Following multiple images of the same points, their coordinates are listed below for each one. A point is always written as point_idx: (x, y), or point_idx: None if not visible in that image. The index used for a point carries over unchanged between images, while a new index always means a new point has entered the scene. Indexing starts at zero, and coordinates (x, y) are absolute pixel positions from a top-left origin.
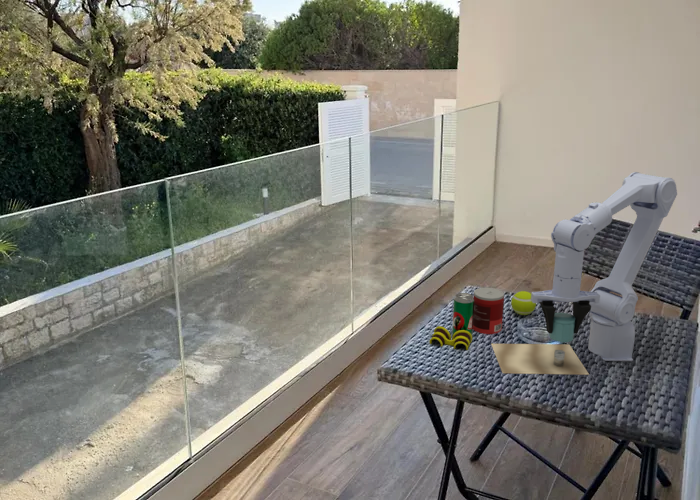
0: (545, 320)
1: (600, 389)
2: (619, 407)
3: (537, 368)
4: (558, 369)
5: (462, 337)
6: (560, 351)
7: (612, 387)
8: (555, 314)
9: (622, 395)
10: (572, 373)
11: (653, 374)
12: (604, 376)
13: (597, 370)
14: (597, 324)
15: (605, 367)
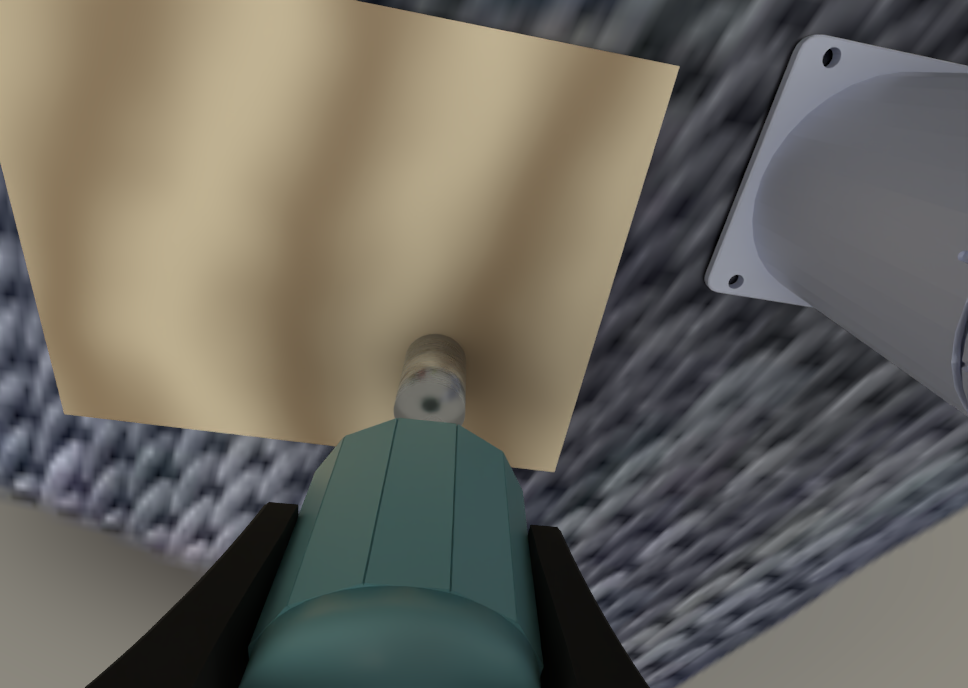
0: (199, 587)
1: (553, 524)
2: None
3: (289, 387)
4: None
5: None
6: (437, 408)
7: (617, 516)
8: (307, 674)
9: (615, 565)
10: None
11: (903, 444)
12: (648, 436)
13: (655, 380)
14: (942, 359)
15: (723, 356)
